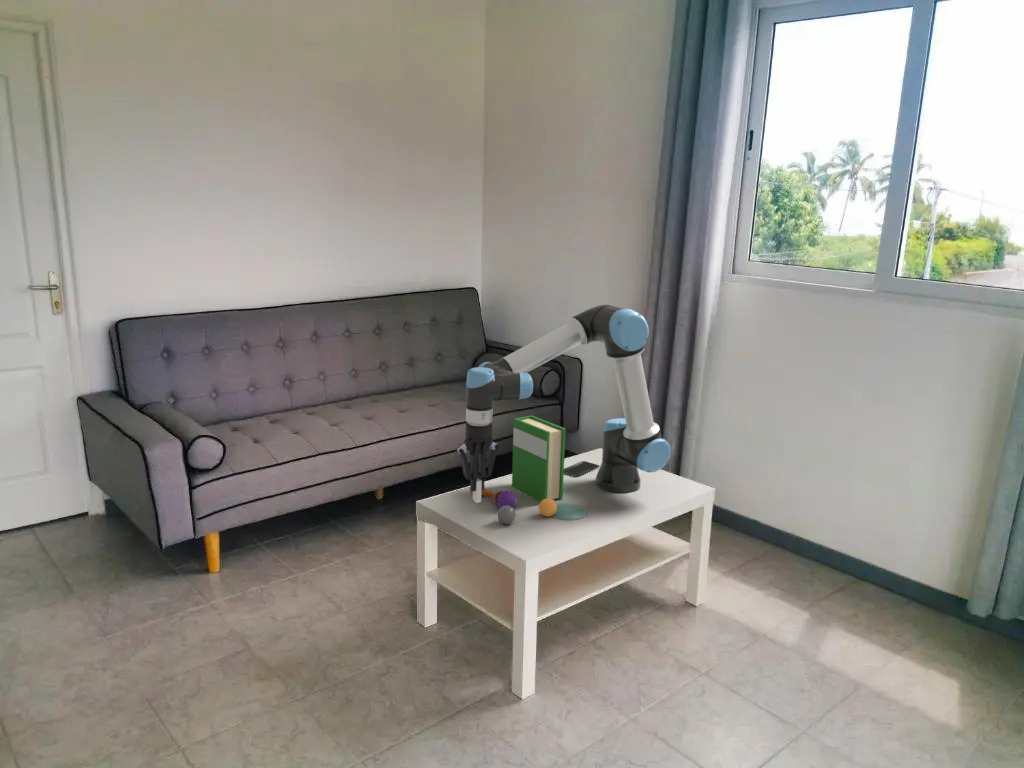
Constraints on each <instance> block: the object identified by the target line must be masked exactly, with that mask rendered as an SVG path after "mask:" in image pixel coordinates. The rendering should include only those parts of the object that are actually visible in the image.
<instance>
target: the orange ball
mask: <svg viewBox="0 0 1024 768" xmlns="http://www.w3.org/2000/svg"><path fill="white" fill-rule="evenodd" d="M557 505H558V504H557V503H556V501H555V499H550V498H546V499H543V500H542V501H541V502H539V504H538V511H539V512H540V514H541V515H542V516H544V517H547V518H548V517H553V516H552V515H554V514H555V512H556V510H557Z"/></svg>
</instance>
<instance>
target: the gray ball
mask: <svg viewBox="0 0 1024 768" xmlns="http://www.w3.org/2000/svg"><path fill="white" fill-rule="evenodd" d="M516 518H517V512H516V510H515V508H514V507H513V508H512V507H511V506H503V507H499V510H498V511H497V519H498V521H499V522H500V523H502V524H503V525H510V524H512V523H514V522H515V520H516Z"/></svg>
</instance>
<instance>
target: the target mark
mask: <svg viewBox="0 0 1024 768" xmlns="http://www.w3.org/2000/svg"><path fill="white" fill-rule="evenodd" d="M556 505H557V510H556V512H555V514H554V515H552V516H551V517H553V518H555V519H557V520H562V521H563V520H564V521H575V520H576V519H577V520H580V518H581V519H583V518H585V517H586V516H587V513H588V511H587V510H586V509H585V508H584V507H582V506H580V505H576V504H572V503H559V504H556ZM584 516H585V517H584ZM582 517H583V518H582Z"/></svg>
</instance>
